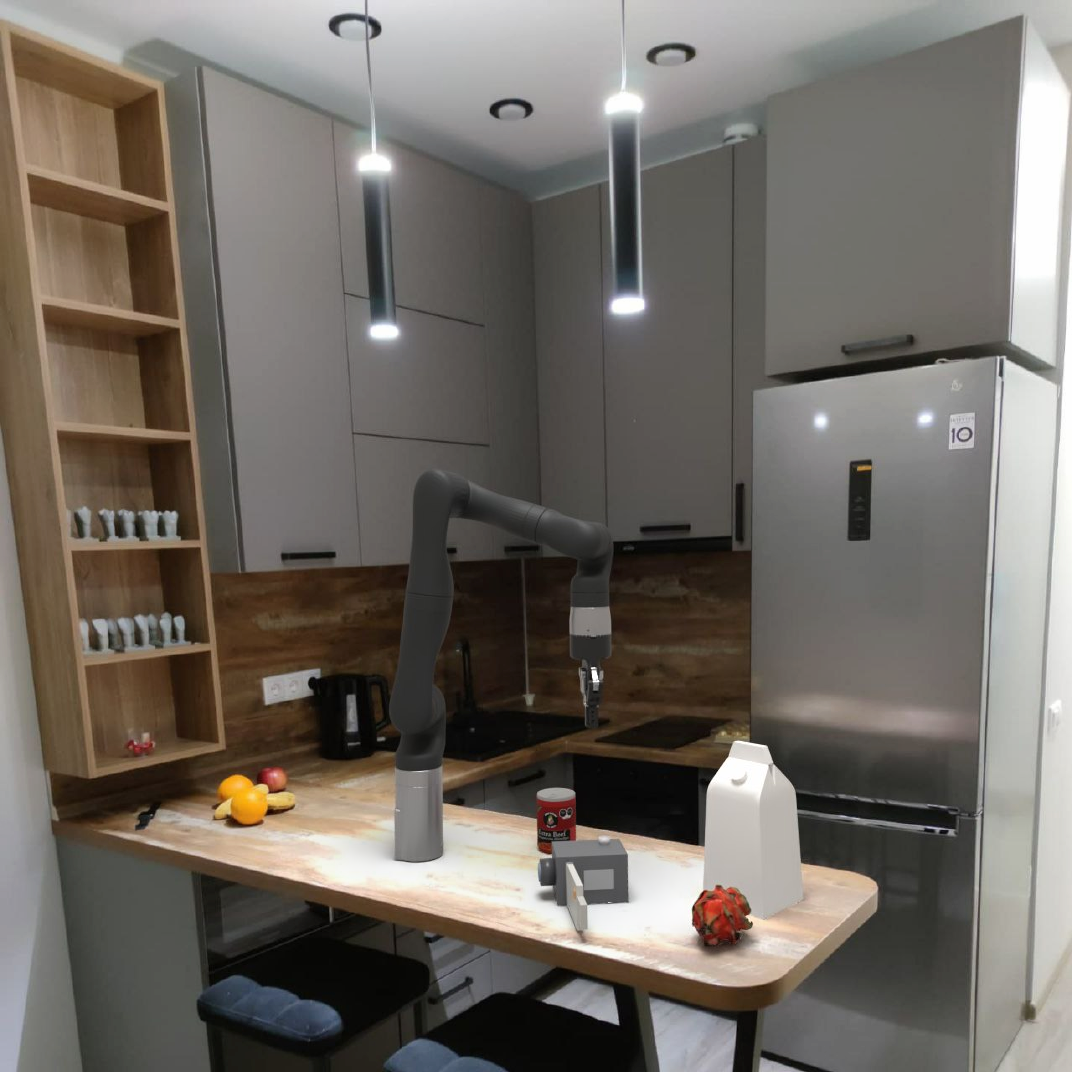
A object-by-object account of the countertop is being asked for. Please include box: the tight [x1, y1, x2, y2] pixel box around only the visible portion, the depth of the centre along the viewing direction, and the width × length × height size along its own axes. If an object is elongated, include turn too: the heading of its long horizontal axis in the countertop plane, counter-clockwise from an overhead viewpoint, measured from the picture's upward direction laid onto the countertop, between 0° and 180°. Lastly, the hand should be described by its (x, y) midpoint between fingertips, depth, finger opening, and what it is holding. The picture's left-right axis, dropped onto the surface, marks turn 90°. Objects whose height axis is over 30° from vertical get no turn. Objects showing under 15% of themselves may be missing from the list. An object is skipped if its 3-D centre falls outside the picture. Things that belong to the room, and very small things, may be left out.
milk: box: [702, 740, 804, 920], centre depth 147 cm, size 12×12×26 cm
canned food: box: [536, 787, 577, 855], centre depth 173 cm, size 8×8×11 cm
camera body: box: [537, 835, 630, 907], centre depth 149 cm, size 15×8×9 cm, turn 95°
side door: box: [565, 862, 589, 931], centre depth 138 cm, size 14×1×7 cm, turn 8°
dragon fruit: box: [691, 885, 754, 948], centre depth 131 cm, size 8×8×12 cm
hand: (591, 727), depth 158 cm, fingers closed
